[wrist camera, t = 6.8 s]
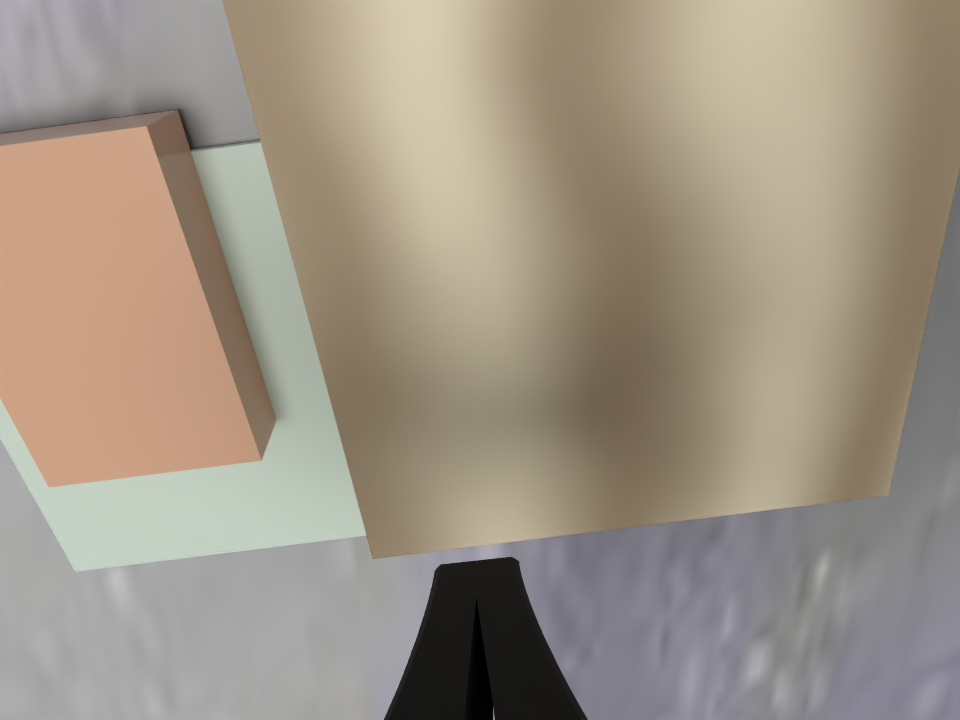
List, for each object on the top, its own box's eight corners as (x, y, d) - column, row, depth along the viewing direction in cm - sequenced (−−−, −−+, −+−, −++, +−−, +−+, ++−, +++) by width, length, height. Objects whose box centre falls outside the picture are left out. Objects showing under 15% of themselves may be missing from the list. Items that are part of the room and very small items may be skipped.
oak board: (893, -113, 15) (1025, -137, 12) (818, 412, 22) (888, 495, 19) (266, -26, 16) (215, -25, 12) (383, 467, 22) (372, 559, 19)
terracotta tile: (-129, 163, 15) (-69, 143, 17) (48, 487, 19) (81, 444, 21) (146, 126, 15) (177, 109, 17) (261, 460, 19) (276, 420, 21)
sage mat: (264, 139, 17) (261, 142, 17) (368, 529, 24) (367, 535, 23) (-129, 192, 18) (-137, 195, 17) (79, 564, 24) (75, 571, 24)
